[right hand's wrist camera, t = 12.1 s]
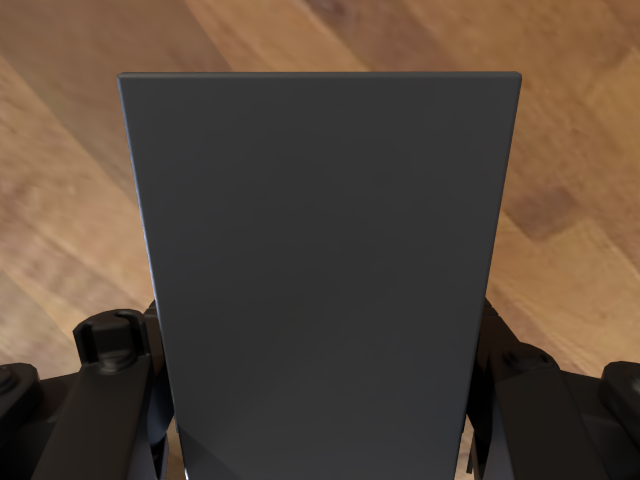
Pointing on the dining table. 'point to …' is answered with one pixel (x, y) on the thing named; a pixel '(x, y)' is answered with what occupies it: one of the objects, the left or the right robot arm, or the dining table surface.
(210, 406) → the bar
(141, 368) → the right robot arm
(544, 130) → the dining table surface
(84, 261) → the dining table surface
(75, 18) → the dining table surface
